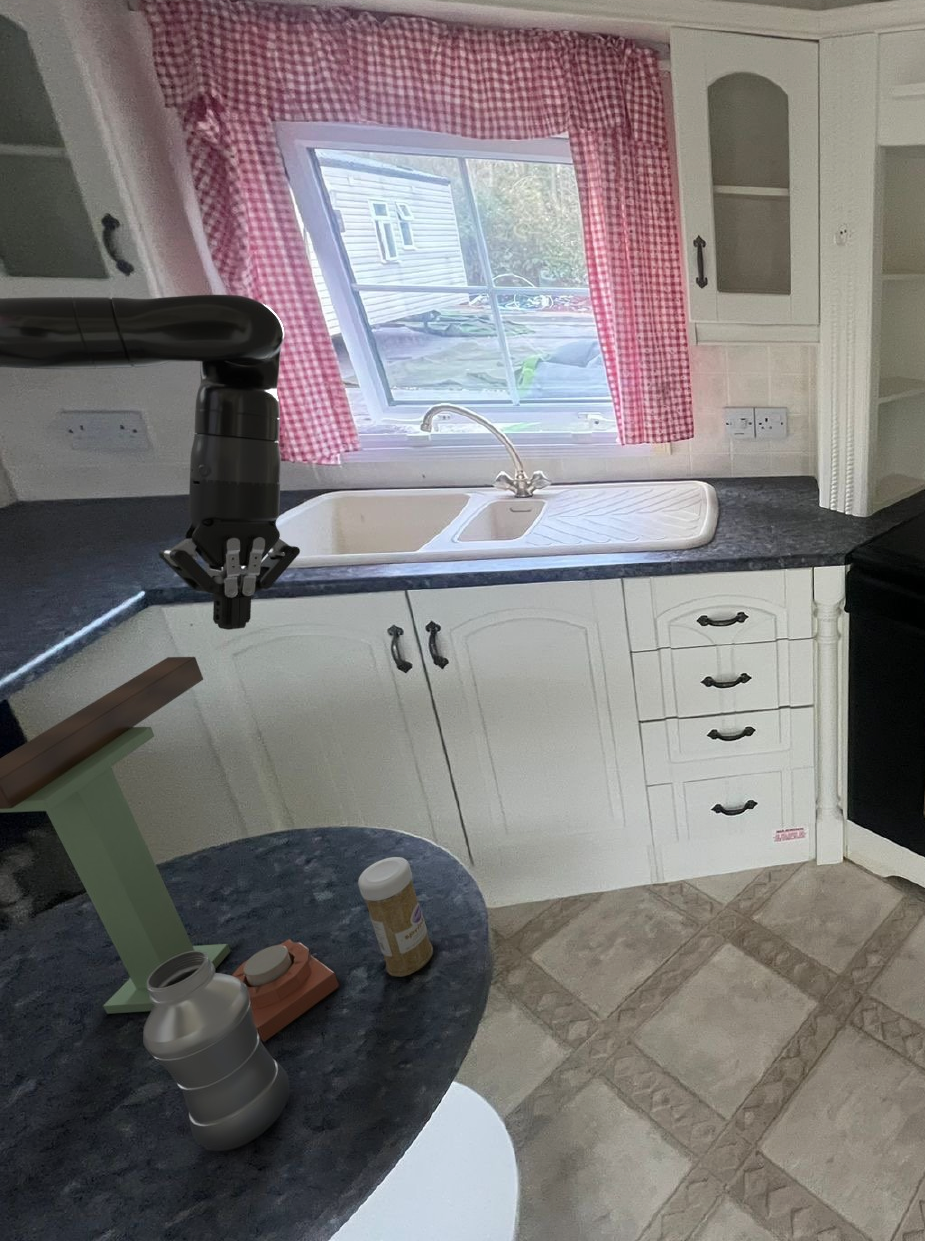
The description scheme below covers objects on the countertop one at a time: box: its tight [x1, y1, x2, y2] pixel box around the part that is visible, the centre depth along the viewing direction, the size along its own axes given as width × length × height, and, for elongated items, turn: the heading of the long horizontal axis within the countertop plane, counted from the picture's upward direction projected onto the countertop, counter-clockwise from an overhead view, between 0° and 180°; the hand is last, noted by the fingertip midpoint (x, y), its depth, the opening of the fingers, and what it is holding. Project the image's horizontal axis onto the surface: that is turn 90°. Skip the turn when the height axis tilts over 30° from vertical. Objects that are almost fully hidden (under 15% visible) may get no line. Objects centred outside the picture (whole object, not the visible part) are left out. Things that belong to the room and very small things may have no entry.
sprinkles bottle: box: [357, 856, 434, 978], centre depth 82 cm, size 5×5×13 cm
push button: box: [243, 944, 292, 987], centre depth 78 cm, size 4×4×2 cm
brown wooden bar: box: [0, 656, 204, 809], centre depth 73 cm, size 21×3×3 cm, turn 6°
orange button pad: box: [231, 938, 340, 1043], centre depth 79 cm, size 9×7×4 cm
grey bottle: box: [142, 950, 291, 1152], centre depth 65 cm, size 6×7×20 cm
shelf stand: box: [0, 726, 231, 1015], centre depth 75 cm, size 11×7×30 cm, turn 6°
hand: (231, 627), depth 85 cm, fingers closed
